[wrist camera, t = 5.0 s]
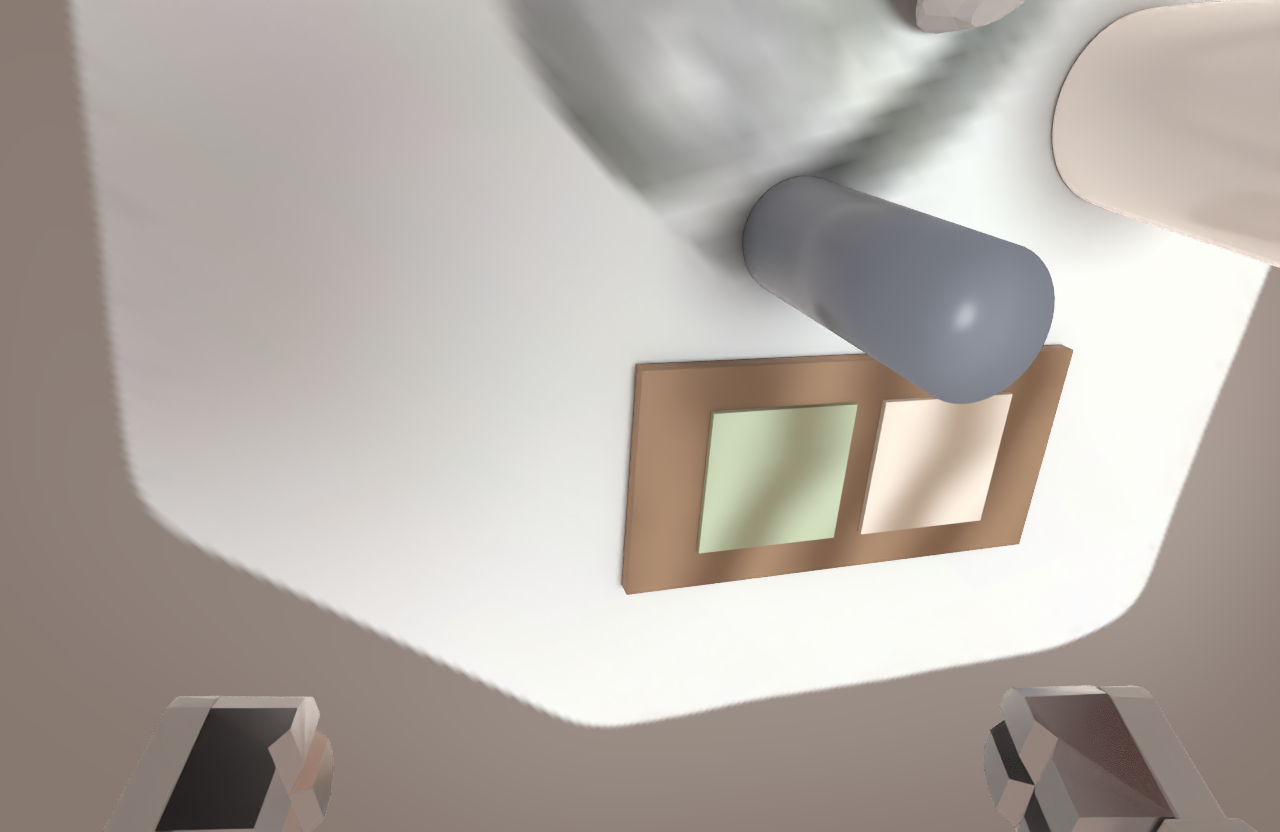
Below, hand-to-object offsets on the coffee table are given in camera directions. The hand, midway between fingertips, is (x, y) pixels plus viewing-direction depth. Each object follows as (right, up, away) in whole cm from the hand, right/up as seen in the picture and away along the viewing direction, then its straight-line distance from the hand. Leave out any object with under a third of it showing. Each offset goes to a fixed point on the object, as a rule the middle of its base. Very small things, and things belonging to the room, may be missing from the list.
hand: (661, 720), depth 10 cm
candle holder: (+21, +17, +28) cm, 39 cm away
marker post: (+6, +11, +26) cm, 29 cm away
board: (+10, +1, +31) cm, 33 cm away
